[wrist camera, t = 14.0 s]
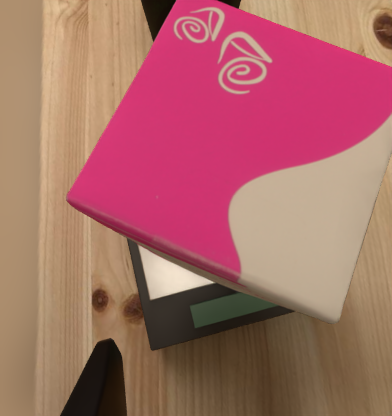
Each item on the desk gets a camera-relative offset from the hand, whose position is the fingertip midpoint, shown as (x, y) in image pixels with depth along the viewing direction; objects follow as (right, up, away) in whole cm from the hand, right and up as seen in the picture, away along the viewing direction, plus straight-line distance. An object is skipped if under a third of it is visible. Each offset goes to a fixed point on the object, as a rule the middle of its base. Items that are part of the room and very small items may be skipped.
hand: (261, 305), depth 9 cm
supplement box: (-1, +2, +8) cm, 9 cm away
